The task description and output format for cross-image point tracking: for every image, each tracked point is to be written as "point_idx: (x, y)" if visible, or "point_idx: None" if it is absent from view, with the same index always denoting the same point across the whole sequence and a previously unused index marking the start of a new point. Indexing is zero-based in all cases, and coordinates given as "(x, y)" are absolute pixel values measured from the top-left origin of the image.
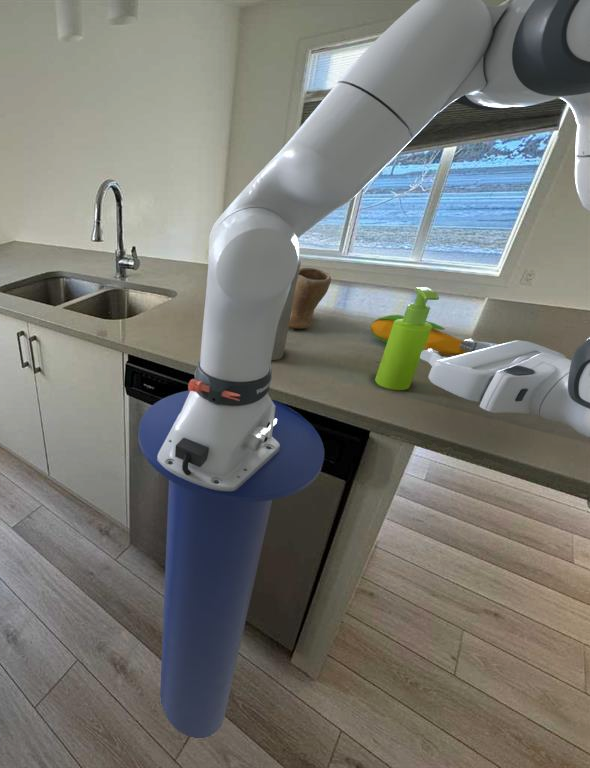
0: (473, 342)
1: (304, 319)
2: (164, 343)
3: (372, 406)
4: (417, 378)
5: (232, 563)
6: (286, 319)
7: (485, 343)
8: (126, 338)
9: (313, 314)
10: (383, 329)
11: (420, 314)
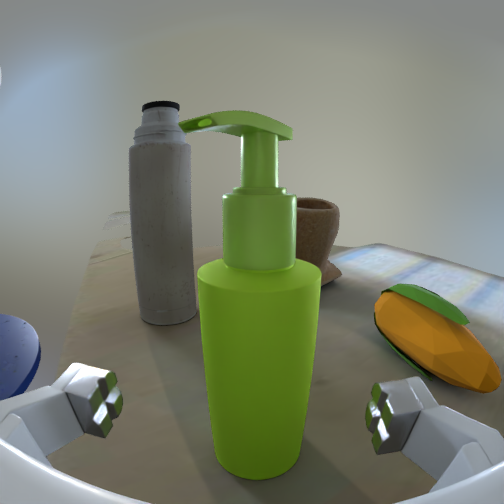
0: (400, 408)
1: None
2: (109, 273)
3: (93, 473)
4: (344, 451)
5: None
6: (156, 247)
7: (451, 426)
8: (98, 263)
9: (330, 276)
10: (381, 311)
11: (235, 218)
